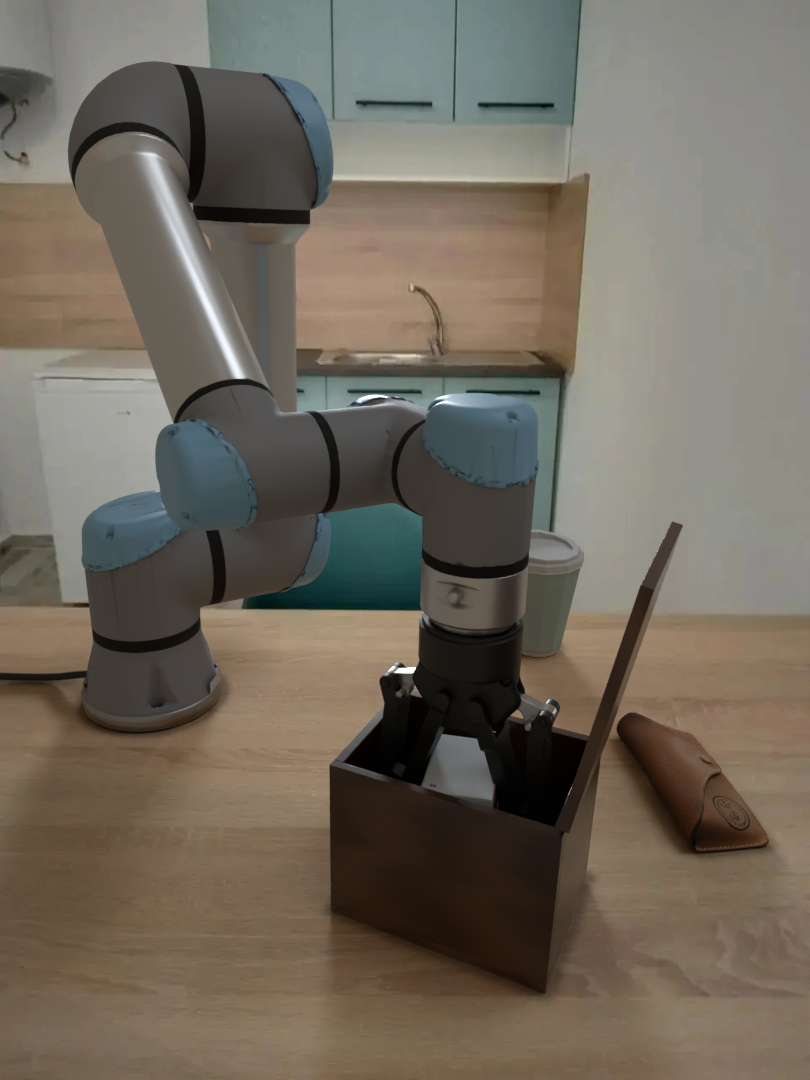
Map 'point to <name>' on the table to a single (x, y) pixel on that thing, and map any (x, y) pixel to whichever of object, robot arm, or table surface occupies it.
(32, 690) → the table surface
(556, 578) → the disposable coffee cup
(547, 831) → the chest
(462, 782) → the small box
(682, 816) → the sunglasses case
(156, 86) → the robot arm
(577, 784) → the lid
